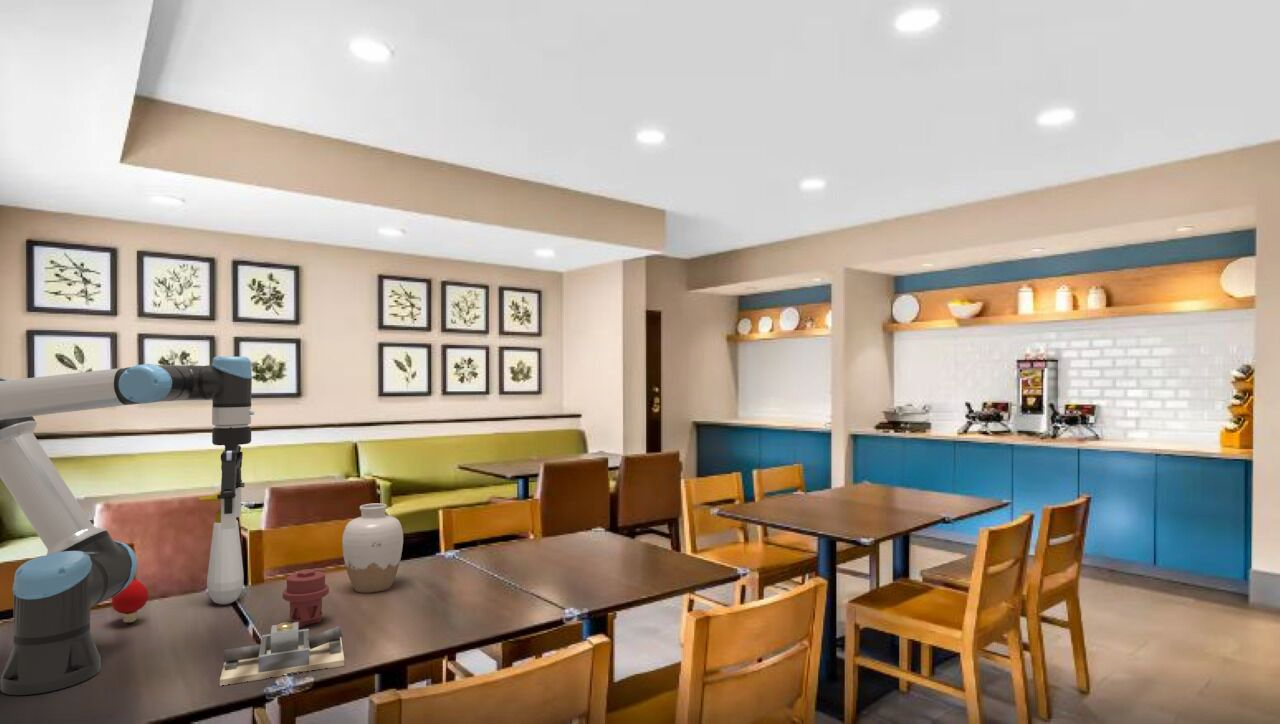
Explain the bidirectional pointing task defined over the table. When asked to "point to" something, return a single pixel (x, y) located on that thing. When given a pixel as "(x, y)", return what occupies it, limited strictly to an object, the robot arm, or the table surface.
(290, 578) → the mechanical component
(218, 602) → the soap bottle
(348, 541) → the vase
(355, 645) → the table surface
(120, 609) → the red mushroom
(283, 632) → the block
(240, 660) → the shaft bench
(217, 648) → the table surface
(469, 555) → the table surface
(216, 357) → the robot arm
